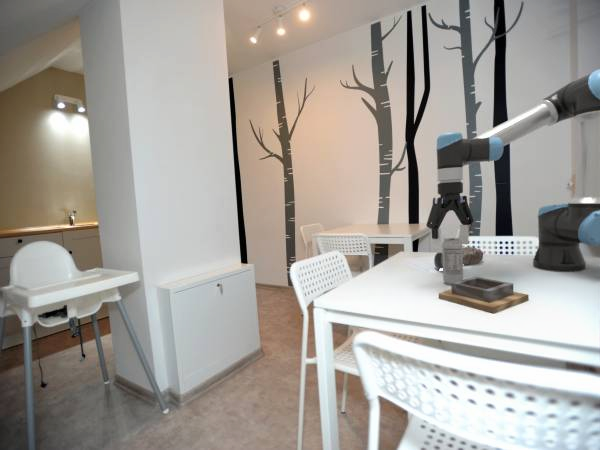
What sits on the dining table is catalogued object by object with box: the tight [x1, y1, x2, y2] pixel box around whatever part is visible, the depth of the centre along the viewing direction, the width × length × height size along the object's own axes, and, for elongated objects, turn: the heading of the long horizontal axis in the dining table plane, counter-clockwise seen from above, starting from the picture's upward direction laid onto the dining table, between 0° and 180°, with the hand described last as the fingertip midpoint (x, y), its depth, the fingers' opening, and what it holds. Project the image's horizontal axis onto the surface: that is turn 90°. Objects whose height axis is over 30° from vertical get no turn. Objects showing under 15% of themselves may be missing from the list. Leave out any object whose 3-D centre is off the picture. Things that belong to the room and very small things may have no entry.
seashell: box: [462, 246, 484, 266], centre depth 136 cm, size 14×9×10 cm
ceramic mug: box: [433, 251, 443, 273], centre depth 127 cm, size 11×8×8 cm
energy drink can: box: [441, 237, 464, 286], centre depth 108 cm, size 6×6×15 cm
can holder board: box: [438, 276, 530, 314], centre depth 91 cm, size 16×16×4 cm
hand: (451, 246), depth 107 cm, fingers open, 13 cm apart
